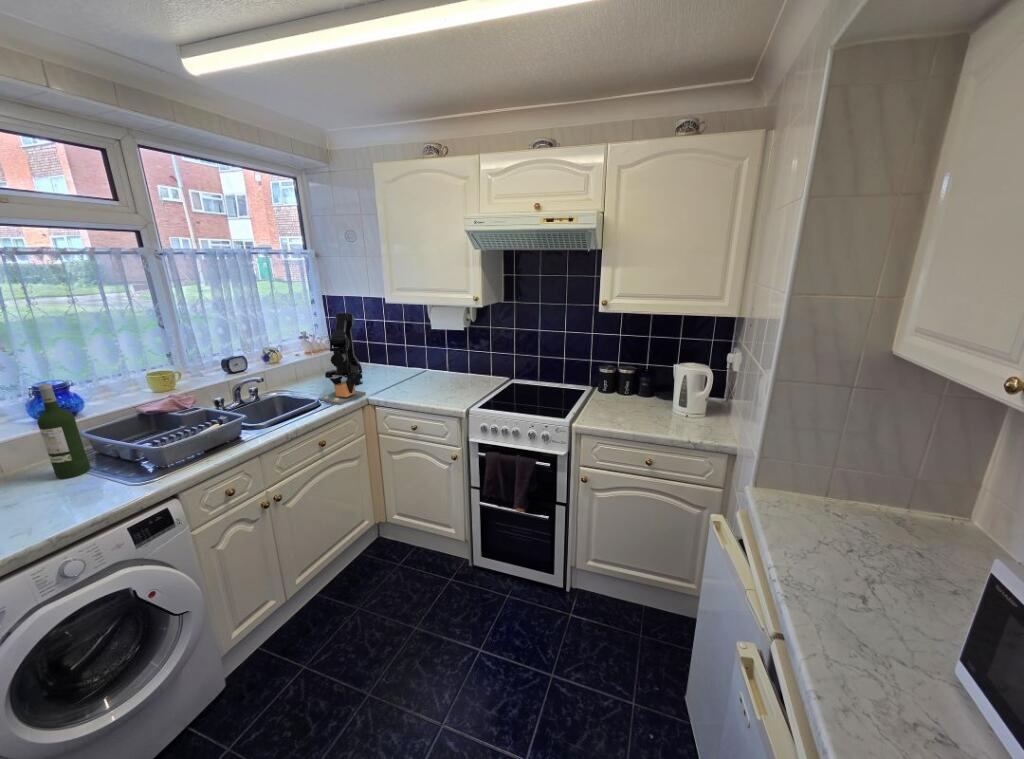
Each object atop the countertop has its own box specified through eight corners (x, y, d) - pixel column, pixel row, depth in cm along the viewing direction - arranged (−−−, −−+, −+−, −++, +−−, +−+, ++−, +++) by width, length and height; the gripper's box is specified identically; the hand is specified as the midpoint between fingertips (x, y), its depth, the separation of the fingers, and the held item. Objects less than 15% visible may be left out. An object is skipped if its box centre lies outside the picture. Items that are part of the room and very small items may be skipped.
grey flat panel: (344, 391, 216) (344, 387, 215) (365, 394, 211) (365, 390, 210) (318, 401, 201) (317, 396, 201) (340, 405, 196) (339, 400, 195)
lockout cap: (345, 392, 207) (343, 381, 206) (355, 393, 205) (354, 382, 203) (336, 395, 201) (334, 385, 200) (346, 397, 199) (345, 386, 198)
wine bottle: (49, 480, 130) (16, 389, 122) (69, 468, 137) (40, 382, 129) (78, 477, 131) (48, 387, 123) (97, 466, 139) (70, 380, 131)
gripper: (368, 359, 202) (372, 389, 206) (340, 356, 209) (343, 385, 214) (351, 364, 192) (355, 396, 197) (322, 361, 200) (326, 391, 204)
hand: (345, 392), depth 203 cm, fingers closed on lockout cap, 6 cm apart
